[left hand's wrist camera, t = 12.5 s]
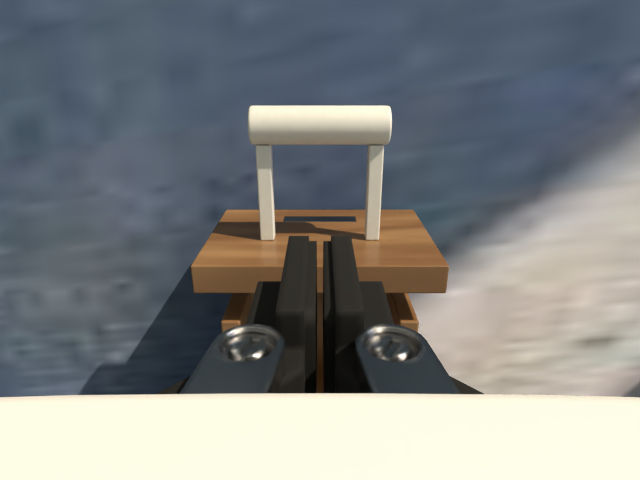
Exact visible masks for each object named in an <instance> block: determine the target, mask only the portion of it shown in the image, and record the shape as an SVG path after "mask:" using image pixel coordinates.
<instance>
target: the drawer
mask: <svg viewBox="0 0 640 480" xmlns="http://www.w3.org/2000/svg"><path fill="white" fill-rule="evenodd" d="M391 129H392V114H391V109H390V107H389V106H250V108H249V111H248V133H249V139H250V142H251V144H253V145H256V162H257V181H258V199H259V210H226V211H225V213H224V215H223V216H222V218H221V219H220V221H219V222H218V224H217V226H216V227H215V229H214V230H213V232H212V233H211V235H210V237H209V238H208V240H207V241H206V243H205V244H204V246H203V248H202V249H201V251H200V252H199V254H198V255H197V257H196V259H195V260H194V262H193V263H192V265H191V274H192V282H193V291H194V293H232V295H231V298H230V300H229V303H228V305H227V308H226V311H225V313H224V316H223V319H222V321H221V328H222V332H224V331H226V330H227V329H230V328H233V327H236V326H240V325H246V322H247V318H248V315H249V311H250V308H251V304H252V301H253V297H254V294H255V290H256V286H257V283H258V281H281V277H282V272H283V266H284V261H285V255H286V250H287V244H288V238H289V236H309V241H317V390H316V393H324V390H323V241H331V236H351V238H352V244H353V250H354V255H355V261H356V266H357V272H358V277H359V281H382V283H383V286H384V290H385V294H386V297H387V301H388V304H389V308H390V311H391V315H392V318H393V322H394V325H400V326H404V327H407V328H410V329H413V330H414V331H416V332H418V325H419V322H418V319H417V317H416V314H415V312H414V309H413V306H412V304H411V301H410V298H409V296H408V293H446V287H447V279H448V271H449V266H448V264H447V262H446V261H445V259H444V258H443V256H442V254H441V253H440V251H439V250H438V248H437V247H436V245H435V243H434V242H433V240H432V239H431V237H430V236H429V234H428V232H427V231H426V229H425V228H424V226H423V225H422V223H421V221H420V220H419V218H418V217H417V215H416V213H415V212H414V210H381V192H382V173H383V154H384V146H383V145H386V144H388V143H389V141H390V137H391ZM272 145H368V156H367V182H366V207H365V210H274V189H273V164H272Z"/></svg>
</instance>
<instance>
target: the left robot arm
mask: <svg viewBox="0 0 640 480" xmlns="http://www.w3.org/2000/svg"><path fill="white" fill-rule="evenodd" d="M316 390H317V241H309V236H289V238H288V244H287V250H286V255H285V261H284V266H283V272H282V277H281V281H258V283H257V286H256V290H255V294H254V297H253V301H252V304H251V308H250V311H249V315H248V318H247V322H246V325H240V326H236V327H233V328H230V329H227V330H226V331H224V332H222V333H221V334H219V335H218V336H217V337H216V338H215V340H214V341H213V342H212V344H211V345H210V347H209V348H208V350H207V352H206V353H205V355H204V356H203V358H202V359H201V361H200V362H199V364H198V366H197V367H196V369H195V370H194V372H193V373H192V375H191V376H190V377H188V378H186V379H184V380H182V381H180V382H178V383H176V384H174V385H172V386H170V387H168V388H166V389H164V390H163V391H161V392H159V393H157V394H143V395H64V396H33V397H1V398H0V480H640V398H639V397H608V396H571V395H499V394H483V393H481V392H479V391H477V390H476V389H474V388H472V387H470V386H468V385H466V384H464V383H462V382H460V381H458V380H456V379H454V378H452V377H450V376H449V375H448V373H447V372H446V370H445V369H444V367H443V366H442V364H441V362H440V361H439V359H438V358H437V356H436V355H435V353H434V352H433V350H432V348H431V347H430V345H429V344H428V342H427V341H426V340H425V338H424V337H423V336H422V335H421V334H419V333H418V332H416V331H414V330H413V329H410V328H407V327H404V326H400V325H394V322H393V318H392V315H391V311H390V308H389V304H388V301H387V297H386V294H385V290H384V286H383V283H382V281H359V277H358V272H357V266H356V261H355V255H354V250H353V244H352V238H351V236H331V241H323V390H324V393H316Z"/></svg>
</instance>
